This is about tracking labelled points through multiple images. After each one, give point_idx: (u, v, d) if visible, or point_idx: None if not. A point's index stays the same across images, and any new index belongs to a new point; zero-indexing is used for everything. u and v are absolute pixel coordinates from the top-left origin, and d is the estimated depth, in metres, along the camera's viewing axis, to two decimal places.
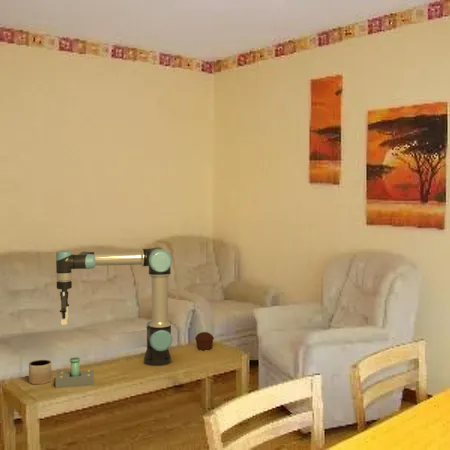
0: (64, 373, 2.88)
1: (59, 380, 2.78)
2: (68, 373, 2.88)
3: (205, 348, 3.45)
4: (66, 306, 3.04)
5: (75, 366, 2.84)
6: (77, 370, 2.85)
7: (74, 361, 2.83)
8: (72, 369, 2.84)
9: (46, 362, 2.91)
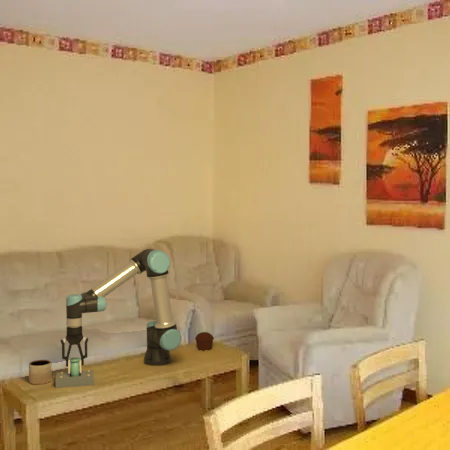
0: (64, 373, 2.88)
1: (59, 380, 2.78)
2: None
3: (205, 348, 3.45)
4: (81, 359, 2.86)
5: (75, 366, 2.84)
6: (77, 370, 2.85)
7: (74, 361, 2.83)
8: (72, 369, 2.84)
9: (46, 362, 2.91)
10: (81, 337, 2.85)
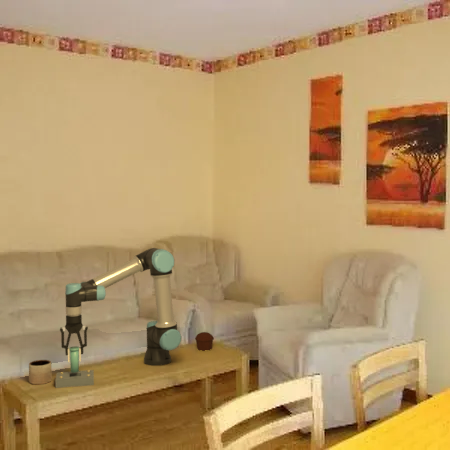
0: (64, 373, 2.88)
1: (59, 380, 2.78)
2: (68, 373, 2.88)
3: (205, 348, 3.45)
4: (80, 348, 2.85)
5: (75, 354, 2.84)
6: (77, 359, 2.84)
7: (74, 350, 2.83)
8: (72, 358, 2.84)
9: (46, 362, 2.91)
10: (80, 326, 2.84)
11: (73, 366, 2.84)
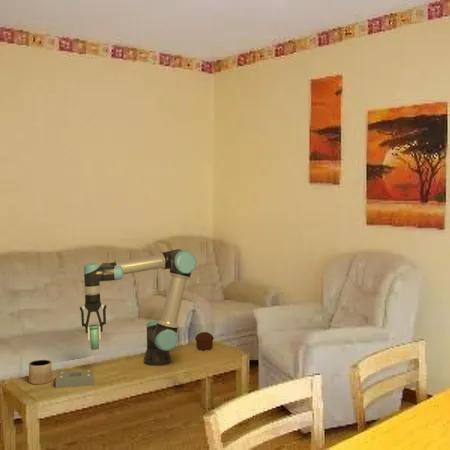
0: (64, 373, 2.88)
1: (59, 380, 2.78)
2: (68, 373, 2.88)
3: (205, 348, 3.45)
4: (100, 325, 2.94)
5: (95, 332, 2.93)
6: (96, 336, 2.93)
7: (93, 327, 2.92)
8: (92, 335, 2.93)
9: (46, 362, 2.91)
10: (99, 304, 2.94)
11: (94, 343, 2.93)
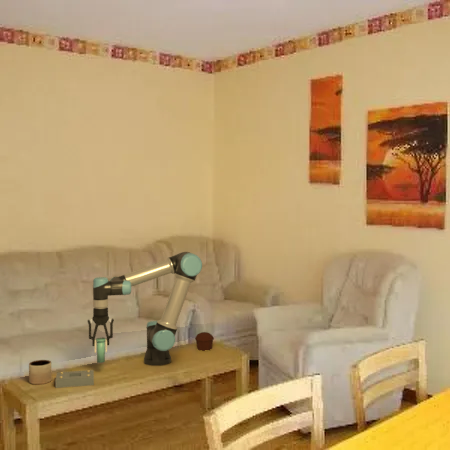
0: (64, 373, 2.88)
1: (59, 380, 2.78)
2: (68, 373, 2.88)
3: (205, 348, 3.45)
4: (106, 339, 2.99)
5: (101, 345, 2.97)
6: (103, 349, 2.98)
7: (100, 341, 2.97)
8: (98, 348, 2.97)
9: (46, 362, 2.91)
10: (107, 318, 2.98)
11: (100, 356, 2.97)
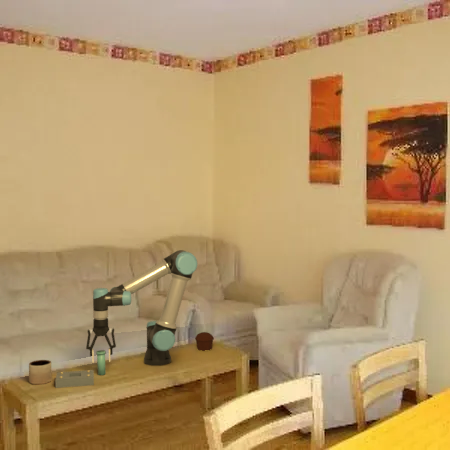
0: (64, 373, 2.88)
1: (59, 380, 2.78)
2: (68, 373, 2.88)
3: (205, 348, 3.45)
4: (110, 348, 2.99)
5: (102, 358, 2.98)
6: (103, 362, 2.98)
7: (100, 353, 2.97)
8: (98, 361, 2.98)
9: (46, 362, 2.91)
10: (107, 329, 2.98)
11: (100, 369, 2.98)
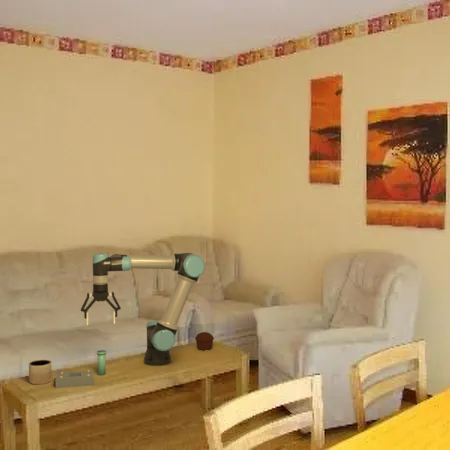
0: (64, 373, 2.88)
1: (59, 380, 2.78)
2: (68, 373, 2.88)
3: (205, 348, 3.45)
4: (114, 310, 2.99)
5: (102, 358, 2.98)
6: (104, 362, 2.98)
7: (101, 353, 2.97)
8: (99, 361, 2.98)
9: (46, 362, 2.91)
10: (107, 294, 2.98)
11: (101, 369, 2.98)
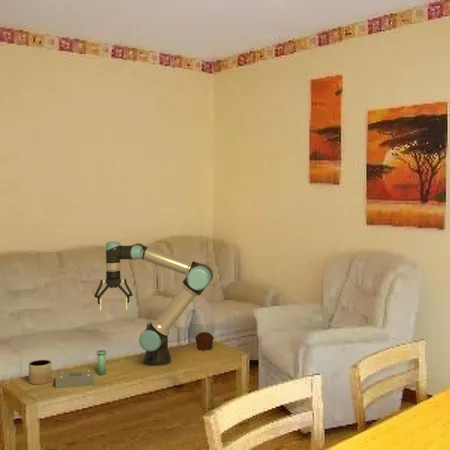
0: (64, 373, 2.88)
1: (59, 380, 2.78)
2: (68, 373, 2.88)
3: (205, 348, 3.45)
4: (127, 297, 3.10)
5: (102, 358, 2.98)
6: (104, 362, 2.98)
7: (101, 353, 2.97)
8: (99, 361, 2.98)
9: (46, 362, 2.91)
10: (119, 280, 3.09)
11: (101, 369, 2.98)
